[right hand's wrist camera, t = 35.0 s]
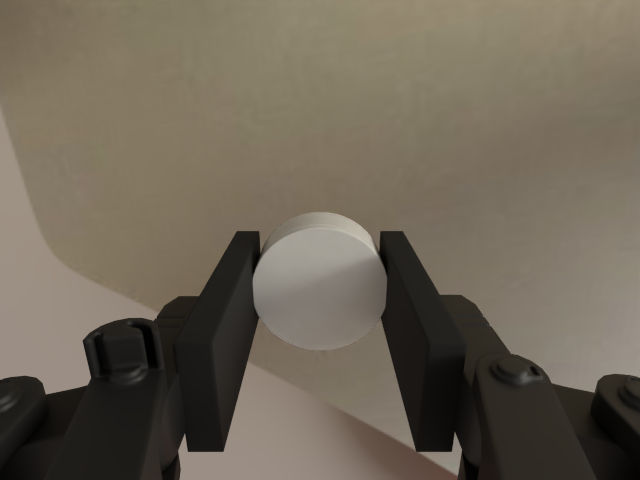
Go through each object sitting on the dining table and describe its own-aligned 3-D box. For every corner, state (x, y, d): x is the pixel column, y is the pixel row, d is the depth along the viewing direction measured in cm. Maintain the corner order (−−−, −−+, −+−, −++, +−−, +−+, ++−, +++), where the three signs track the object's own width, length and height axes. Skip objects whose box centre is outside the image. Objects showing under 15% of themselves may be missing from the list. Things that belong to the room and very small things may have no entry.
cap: (369, 328, 15) (375, 357, 13) (254, 315, 15) (246, 343, 13) (391, 219, 14) (401, 237, 12) (264, 203, 13) (256, 219, 12)
